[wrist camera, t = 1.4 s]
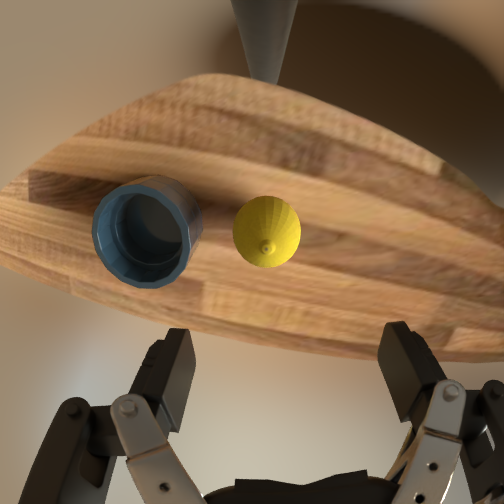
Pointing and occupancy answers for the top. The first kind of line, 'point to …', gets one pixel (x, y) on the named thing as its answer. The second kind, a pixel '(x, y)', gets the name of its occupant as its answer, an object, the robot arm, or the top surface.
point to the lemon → (266, 231)
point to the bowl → (147, 231)
